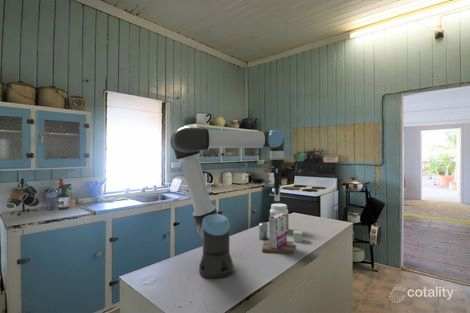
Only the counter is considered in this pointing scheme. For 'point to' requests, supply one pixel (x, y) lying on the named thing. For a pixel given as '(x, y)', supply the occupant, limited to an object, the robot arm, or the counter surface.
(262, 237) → the grey tin
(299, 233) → the sage block
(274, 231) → the candy bar box
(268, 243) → the board
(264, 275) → the counter surface
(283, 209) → the supplement tub
